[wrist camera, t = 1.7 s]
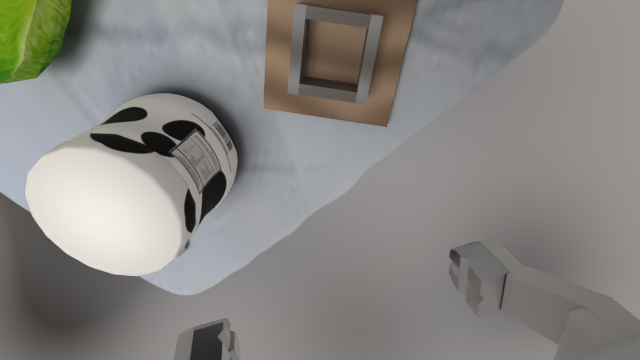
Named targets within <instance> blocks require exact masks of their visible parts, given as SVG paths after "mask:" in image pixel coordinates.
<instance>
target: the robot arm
mask: <svg viewBox="0 0 640 360" xmlns="http://www.w3.org/2000/svg"><path fill="white" fill-rule="evenodd" d="M449 257H450V259H451V260H452V262H451V264H450V265H449V274H450V277H451V280H452V282H453V284H454V286H455V287H456V289H457V290H458V291H459V292H461V293H463V294H465V295H466V302H467V303H468V305H469V306H470V307H471V309H472V310H473V311H474V313H475V314H476V315H477V316H481V315H485V314H488V313H492V312H495V311H498V310H501V312H503V313H505V314H506V315H508V316H510V317H512V318H513V319H515V320H516V321H518V322H520V323H522V324H523V325H525V326H527V327H528V328H530V329H532V330H534V331H535V332H537V333H539V334H540V335H542V336H544V337H545V338H547V339H549V340H551V341H552V342H554V343H556V344H558V347H557V350H556V353H555V356H554V360H640V320H639V319H637V318H636V317H635V316H634V315H632V314H631V313H630V312H629V311H627V310H626V309H625V308H624V307H622V306H621V305H620V304H619V303H618V302H616V301H615V300H614V299H613V298H611V297H609V296H606V295H604V294H601V293H598V292H595V291H593V290H590V289H587V288H585V287H582V286H579V285H576V284H574V283H571V282H569V281H566V280H563V279H560V278H558V277H555V276H552V275H550V274H547V273H544V272H541V271H539V270H536V269H533V268H531V267H527V268H524V267H523V266H522V265H521V264H520V263H519V262H518V261H517V260H516V259H515V258H514V257H513V256H511V254H510V253H508V252H507V251H506V250H505V249H504V248H503V247H502V246H501V245H500V244H499V243H498V242H497V241H496V240H494V239H493V238H491V237H489V238H486V239H483V240H479V241H477V242H472V243H469V244H466V245H463V246H460V247H456V248H453V249H451V250H450V254H449ZM174 360H240V348H239V342H238V339H237V336H236V334H235V332H233V331H231V330H230V323H229V321H228V319H227V318H224V319H221V320H217V321H213V322H210V323H206V324H203V325H199V326H196V327H192V328H189V329H185V330H182V331H180V333H179V335H178V339H177V345H176V350H175V355H174Z"/></svg>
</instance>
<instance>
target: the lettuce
mask: <svg viewBox="0 0 640 360" xmlns="http://www.w3.org/2000/svg"><path fill="white" fill-rule="evenodd" d="M71 1H72V0H0V84H1V83H9V82H15V81H21V80H27V79H33V78H37V77H38V76H39V75H40V74H41V73H42V72H43V71H44V70H45V69H46V68H47V66H48V65H49V64H50V63H51V62H52V61H53V60H54V59H55V58H56V57H57V56H58V55H59V53H60V52H61V47H62V42H63V37H64V33H65V30H66V28H67V25H68V22H69V19H70V11H71Z"/></svg>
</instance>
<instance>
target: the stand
mask: <svg viewBox="0 0 640 360" xmlns="http://www.w3.org/2000/svg"><path fill="white" fill-rule="evenodd" d="M416 3H417V0H268V13H267V37H266V61H265V85H264V108H265V109H272V110H279V111H285V112H292V113H299V114H305V115H312V116H318V117H325V118H332V119H338V120H345V121H352V122H358V123H365V124H372V125H378V126H385V127H387V123H388V119H389V115H390V111H391V107H392V103H393V98H394V94H395V90H396V86H397V82H398V78H399V74H400V69H401V65H402V61H403V57H404V53H405V49H406V45H407V40H408V36H409V32H410V28H411V24H412V20H413V16H414V11H415V7H416Z"/></svg>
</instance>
